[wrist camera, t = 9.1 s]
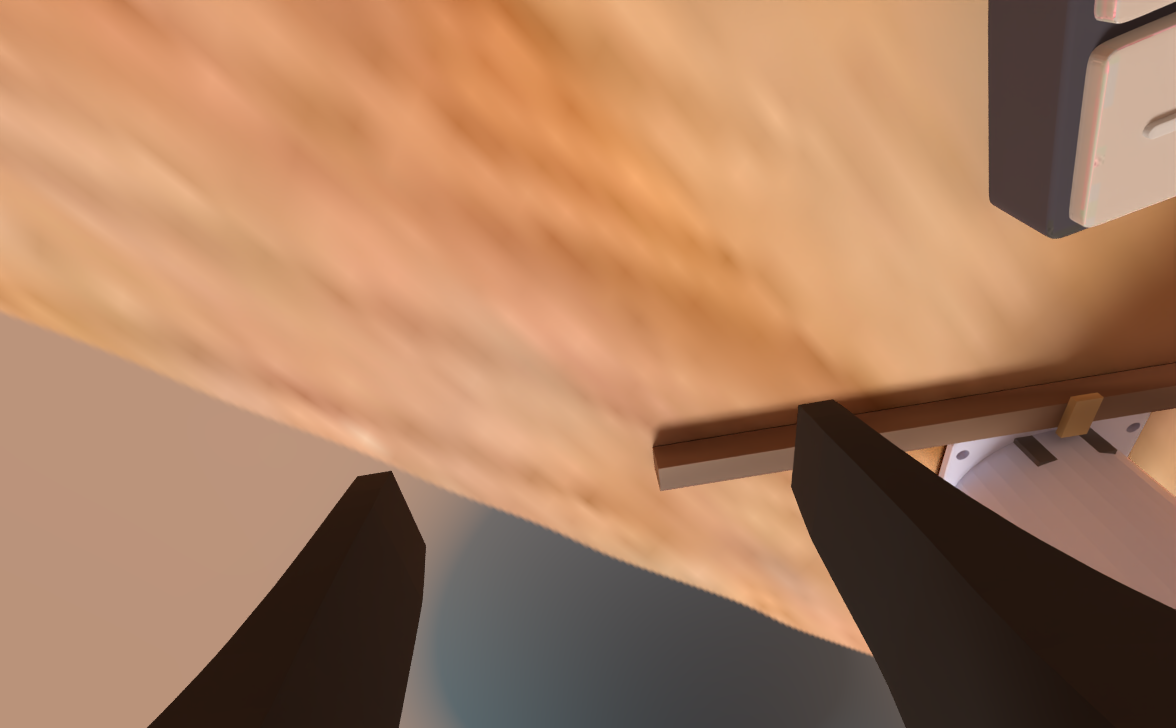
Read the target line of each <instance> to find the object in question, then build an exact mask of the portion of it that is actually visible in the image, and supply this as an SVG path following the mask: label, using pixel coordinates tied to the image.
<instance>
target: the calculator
mask: <svg viewBox="0 0 1176 728" xmlns="http://www.w3.org/2000/svg"><path fill="white" fill-rule="evenodd" d="M988 90H989V199H990V202H991V203H992V204H993V205H994V206H996V207H998V208H999V209H1001V210H1003V211H1004V212H1006V213H1008V214H1009V215H1011V216H1013V217H1015V218H1016V219H1018V220H1020V221H1021V222H1023V223H1025V224H1026V225H1028V226H1030V227H1032V228H1033V229H1035V230H1037V231H1038V232H1040V233H1042V234H1044V235H1045V236H1047V237H1049V238H1053V239H1057V238H1062V237H1065V236H1068V235H1071V234H1073V233H1076V232H1079V231H1082V230H1084V229H1087V228H1090V227H1094V226H1097V225H1100V224H1103V223H1106V222H1108V221H1111V220H1114V219H1116V218H1119V217H1122V216H1124V215H1127V214H1130V213H1132V212H1135V211H1138V210H1140V209H1143V208H1146V207H1148V206H1151V205H1154V204H1156V203H1159V202H1162V201H1164V200H1167V199H1170V198H1172V197H1175V196H1176V0H989V11H988Z"/></svg>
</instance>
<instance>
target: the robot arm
mask: <svg viewBox="0 0 1176 728" xmlns="http://www.w3.org/2000/svg"><path fill="white" fill-rule="evenodd" d="M1149 416H1150V412H1148V413H1142V414H1136V415H1130V416H1124V417H1117V418H1111V419H1105V420H1099V421H1093V422H1092V424H1091V426H1090V428H1092V429H1093V430H1094V431H1095V432H1096V433H1098V434H1099V435H1100V436H1101V437H1102V438H1104V439H1105V440H1106V441H1107V442H1108V443H1110V444H1111V445H1112V446H1113V447H1115V448H1116V449H1117V452H1116V454H1109V453H1099V452H1098V451H1097V450H1096V449H1094V448H1093V447H1092V446H1091V445H1090V444H1089V443H1087V442H1086V441H1085V440H1084V439H1083V438H1082V437H1080V436H1079V435H1077V436H1071V437H1064V438H1060V437H1059V436H1058V435H1057V434H1056V433H1055V432H1056V430H1057V428H1058V427H1055V428H1049V429H1043V430H1037V431H1030V432H1024V433H1018V434H1012V435H1006V436H999V437H993V438H987V439H981V440H975V441H968V442H962V443H956V444H950V445H947V448H946V452H945V455H944V459H943V462H942V466H941V469H940V472H939V476H938V475H937V474H935V473H934V472H933V471H931V470H930V469H928V468H927V467H925V466H924V465H922V464H921V463H920V462H918V461H917V460H915V459H914V458H913V457H911V456H910V455H908V454H907V453H906V452H904V451H903V450H901V449H900V448H899V447H897V446H896V445H894V444H893V443H892V442H890V441H889V440H888V439H886V438H885V437H884V436H882V435H881V434H879V433H878V432H877V431H875V430H874V429H873V428H871V427H870V426H869V425H867V424H866V423H865V422H863V421H862V420H861V419H859V418H858V417H857V416H855V415H854V414H852V413H851V412H850V411H848V410H847V409H846V408H844V407H843V406H842V405H840V404H839V403H837V402H836V401H835V400H827V401H821V402H815V403H809V404H802V405H798V416H797V427H796V439H795V450H794V461H793V473H792V484H791V488H792V490H793V493H794V496H795V498H796V501H797V504H798V506H799V509H800V512H801V514H802V517H803V520H804V522H805V525H806V527H807V530H808V532H809V535H810V537H811V539H812V541H813V543H814V545H815V547H816V549H817V551H818V553H819V555H820V557H821V559H822V561H823V562H824V564H825V566H826V568H827V570H828V572H829V574H830V576H831V578H832V580H833V581H834V583H835V585H836V587H837V589H838V591H839V593H840V594H841V596H842V598H843V600H844V602H845V604H846V606H847V608H848V609H849V611H850V613H851V615H852V617H853V619H854V621H855V622H856V624H857V626H858V628H859V630H860V632H861V634H862V635H863V637H864V639H865V641H866V643H867V645H868V647H869V649H870V650H871V652H872V654H873V656H874V658H875V660H876V662H877V664H878V666H879V668H880V670H881V672H882V674H883V676H884V678H885V680H886V682H887V685H888V686H889V689H890V691H891V694H892V696H893V698H894V701H895V703H896V705H897V708H898V710H899V713H900V715H901V717H902V720H903V722H904V724H905V727H906V728H1176V497H1175V496H1174V495H1173V494H1171V493H1170V492H1169V491H1168V490H1166V489H1165V488H1164V487H1163V486H1162V485H1160V484H1159V483H1158V482H1157V481H1156V480H1154V479H1153V478H1152V477H1151V476H1150V475H1148V474H1147V473H1146V472H1145V471H1143V470H1142V469H1141V468H1140V467H1139V466H1137V465H1136V464H1135V463H1134V462H1133V461H1131V460H1130V459H1129V458H1128V455H1129V453H1130V452H1131V450H1132V448H1133V446H1134V444H1135V442H1136V440H1137V438H1138V437H1139V435H1140V433H1141V431H1142V429H1143V427H1144V425H1145V424H1146V422H1147V420H1148V418H1149ZM1031 435H1032V436H1033V437H1034V438H1035V439H1036V440H1038V441H1039V442H1040V443H1041V444H1042V445H1043V446H1044V447H1045V448H1046V449H1047V450H1048V451H1049V452H1050V453H1051V454H1053V455H1054V456H1055V457H1056V458H1057V459H1058V460H1055V461H1052V462H1049V463H1047V464H1044V465H1041V466H1039V467H1038V466H1037V465H1035V464H1034V463H1033V462H1032V461H1031V460H1030V459H1029V458H1028V457H1027V456H1026V455H1025V454H1024V453H1023V452H1022V451H1021V450H1020V449H1019V448H1018V447H1017V446H1016V445H1015V444H1014V443H1013V442H1014V439H1015V438H1019V437H1025V436H1031ZM425 553H426V545H425V543H424V540H423V538H422V536H421V534H420V532H419V530H418V527H417V525H416V523H415V521H414V519H413V517H412V514H411V512H410V510H409V508H408V506H407V503H406V501H405V499H404V497H403V495H402V493H401V490H400V488H399V486H398V484H397V482H396V480H395V477H394V475H393V473H392V471H388V472H382V473H376V474H369V475H363V476H358V477H357V478H356V479H355V480H354V482H353V483H352V484H351V485H350V487H349V488H348V489H347V491H346V492H345V493H344V495H343V496H342V498H341V499H340V500H339V501H338V503H337V504H336V505H335V507H334V508H333V510H332V511H331V512H330V513H329V515H328V516H327V518H326V519H325V520H324V522H323V523H322V524H321V526H320V527H319V528H318V530H317V531H316V532H315V534H314V535H313V536H312V538H311V539H310V540H309V542H308V543H307V544H306V546H305V547H304V548H303V550H302V551H301V552H300V553H299V555H298V556H297V557H296V559H295V560H294V561H293V563H292V564H291V565H290V566H289V568H288V569H287V570H286V572H285V573H284V574H283V576H282V577H281V578H280V579H279V581H278V582H277V583H276V585H275V586H274V587H273V588H272V590H271V591H270V592H269V593H268V594H267V596H266V597H265V598H264V599H263V601H262V602H261V603H260V604H259V605H258V606H257V608H256V609H255V610H254V611H253V612H252V614H251V615H250V616H249V617H248V618H247V620H246V621H245V622H244V623H243V624H242V626H241V627H240V628H239V629H238V630H237V632H236V633H235V634H234V635H233V637H232V638H231V639H230V640H229V641H228V642H227V643H226V645H225V646H224V647H223V648H222V649H221V650H220V651H219V652H218V654H217V655H216V656H215V657H214V658H213V659H212V660H211V661H210V662H209V664H208V665H207V666H206V667H205V668H204V669H203V670H202V671H201V672H200V673H199V675H198V676H197V677H196V678H195V679H194V680H193V681H192V682H191V683H190V684H189V685H188V686H187V687H186V688H185V690H183V691H182V693H180V695H179V696H178V697H177V698H176V699H175V700H174V701H173V702H172V703H171V704H170V705H169V706H168V707H167V708H166V709H165V710H164V711H163V712H162V713H161V714H160V715H159V716H158V717H157V718H156V719H155V720H154V721H153V722H152V723H151V724H150V725H149V726H148V727H147V728H399V724H400V718H401V713H402V708H403V703H404V697H405V692H406V687H407V682H408V676H409V671H410V666H411V660H412V656H413V650H414V645H415V640H416V634H417V629H418V623H419V618H420V612H421V607H422V600H423V587H424V572H425Z"/></svg>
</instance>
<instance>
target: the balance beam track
mask: <svg viewBox="0 0 1176 728" xmlns="http://www.w3.org/2000/svg"><path fill="white" fill-rule="evenodd" d="M1173 408H1176V363H1172V364H1166V365H1160V366H1154V367H1147V368H1141V369H1135V370H1129V371H1123V372H1116V373H1110V374H1104V375H1098V376H1092V377H1085V378H1079V379H1073V380H1067V381H1061V382H1054V383H1048V384H1042V385H1036V386H1030V387H1023V388H1017V389H1011V390H1005V391H999V392H992V393H986V394H980V395H974V396H968V397H962V398H955V399H949V400H943V401H937V402H931V403H924V404H918V405H912V406H906V407H900V408H893V409H887V410H881V411H875V412H869V413H862V414H856V415H855V416H857V417H858V418H859V419H861V420H862V421H863V422H865V423H866V424H867V425H869V426H870V427H871V428H873V429H874V430H875V431H877V432H878V433H879V434H881V435H882V436H884V437H885V438H886V439H888V440H889V441H890V442H892V443H893V444H894V445H896V446H897V447H899V448H900V449H901V450H903V451H904V452H906V451H912V450H919V449H925V448H931V447H937V446H943V445H950V444H956V443H962V442H968V441H975V440H981V439H987V438H993V437H999V436H1006V435H1012V434H1018V433H1024V432H1030V431H1037V430H1043V429H1049V428H1055V427H1058V428H1057V430H1056V432H1055V433H1056V434H1057V435H1058V436H1059V437H1060V438H1064V437H1071V436H1077V435H1079V436H1080V437H1082V438H1083V439H1084V440H1085V441H1086V442H1087V443H1089V444H1090V445H1091V446H1092V447H1093V448H1094V449H1096V450H1097V451H1098V452H1099V453H1109V454H1116V452H1117V449H1116V448H1115V447H1113V446H1112V445H1111V444H1110V443H1108V442H1107V441H1106V440H1105V439H1104V438H1102V437H1101V436H1100V435H1099V434H1098V433H1096V432H1095V431H1094V430H1093V429H1092V428H1090V426H1091V424H1092V422H1093V421H1099V420H1105V419H1111V418H1117V417H1124V416H1130V415H1136V414H1142V413H1148V412H1155V411H1161V410H1167V409H1173ZM796 427H797V424H794V425H788V426H782V427H776V428H770V429H763V430H757V431H751V432H745V433H739V434H732V435H726V436H720V437H714V438H708V439H701V440H695V441H689V442H683V443H677V444H670V445H664V446H658V447H653V455H654V465H655V471H656V475H657V479H658V483H659V487H660V491H664V490H670V489H676V488H683V487H689V486H695V485H701V484H707V483H714V482H720V481H726V480H732V479H738V478H745V477H751V476H757V475H763V474H770V473H776V472H782V471H788V470H793V461H794V450H795V439H796ZM1013 443H1014V444H1015V445H1016V446H1017V447H1018V448H1019V449H1020V450H1021V451H1022V452H1023V453H1024V454H1025V455H1026V456H1027V457H1028V458H1029V459H1030V460H1031V461H1032V462H1033V463H1034V464H1035V465H1037V466H1038V467H1039V466H1041V465H1044V464H1047V463H1049V462H1052V461H1055V460H1058V459H1057V458H1056V457H1055V456H1054V455H1053V454H1051V453H1050V452H1049V451H1048V450H1047V449H1046V448H1045V447H1044V446H1043V445H1042V444H1041V443H1040V442H1039V441H1038V440H1036V439H1035V438H1034V437H1033V436H1032V435H1031V436H1025V437H1019V438H1015V439H1014V442H1013Z"/></svg>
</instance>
